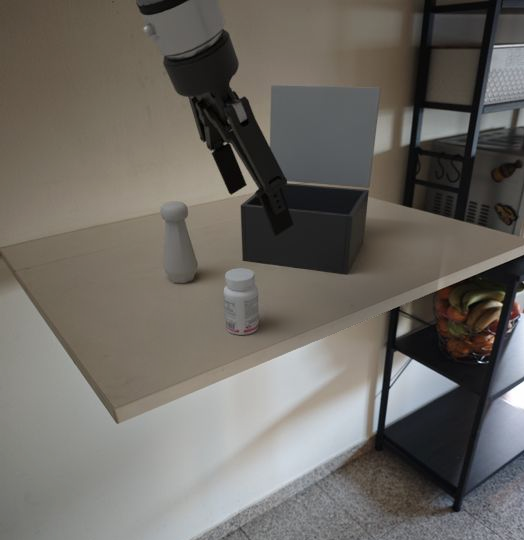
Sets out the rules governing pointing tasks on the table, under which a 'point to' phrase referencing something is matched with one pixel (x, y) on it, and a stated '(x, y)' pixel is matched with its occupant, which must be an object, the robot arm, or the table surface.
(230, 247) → the table surface
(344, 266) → the box
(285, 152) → the grey box lid
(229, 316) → the pill bottle
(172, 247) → the salt shaker
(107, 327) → the table surface
